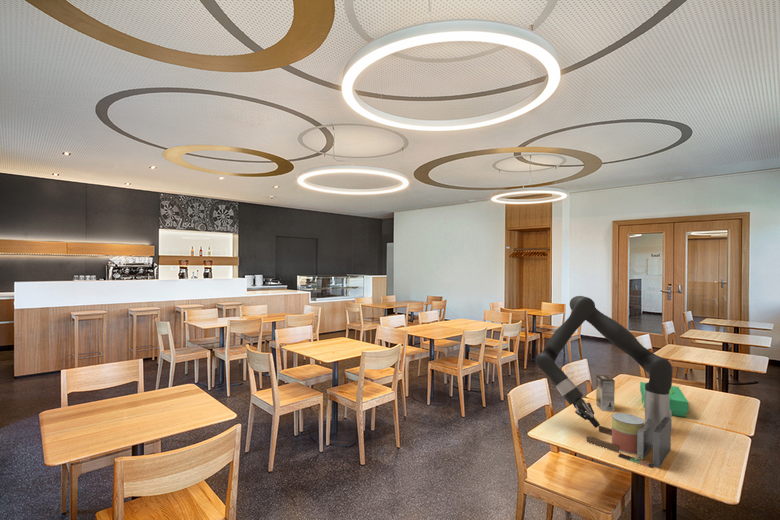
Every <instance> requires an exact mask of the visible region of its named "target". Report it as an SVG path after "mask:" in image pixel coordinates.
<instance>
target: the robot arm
mask: <svg viewBox="0 0 780 520" xmlns="http://www.w3.org/2000/svg"><path fill="white" fill-rule="evenodd" d="M569 307H570V310H571V313H570V314H569V316H568V318H567V319H566V320H565V321H564V322H563V323H561V325H560V326H559V327H558V328H557V329H555V331H554V332H553V334H552V335H551V337H550V338H549V340H547V342H546V346H545V347H544V348H543V351H542V352H539V353H537V354H536V357H535V363H536V365H537V366H538V367H539V368H540V370H541V371H542V372H543V373H544V374H545V375H546V376H547V377H548V378H549V380H550V381H551V382H552V383H553V385H554V386H555V388H556V389H557V390H558V392H559V393H560V394H561V396H562V397H563V399H564V400H565V401H566V402H567V403H568V405H573V408H574V409H575V411H574V413H575V414H576V415H577V416H579V417H580V418H581V419H584V420H585V421H586V420H587V421H589V423H590V424H591V425H592V426H593V427H594V429H595V428H599V425H600V426H601V424H600V422H599V421H598V419H596V417H595V411H594V410H593V406H592V405H591V403H590V402H586V400H585V399H583V396H584V394H583V393H582V391H580V389H579V388H578V387H577V385H575V383H574V382H573V381H572V380H571V379H570V378H569V376H567V374H566V373H565V372H564V370H562V369H561V368H560V367H559V366H558V365H557V364H556V361H557V358H558V356H559V354H560V353H561V352H562V351H563V349H564V348H565V346H566V344H568V342H569V341H570V340H571V337H573V335H574V333H575V332H576V331H577V330H578V329H579V328H580V327H581V326H582V324H583V323H584V322H585V321H586V322H587V323H589V324H590V325H591V326H592V327H593V328H595V330H597V332H598V333H600V334H601V335H602V336H603V337H604V338H605V339H606V340H608V342H610V343H611V344H612V345H614V346H615V347H617V348H618V349H619V350H621V351H622V352H623V353H625V354H627V355H629V356H630V358H632V359H633V360H634V361H635V362H636V363H637V364H638V365H639V366H640V367H641V368H642V369H643V370H644V371H645V372H647V373H648V374H649V377H648V378H649V379H648V380H649V381H648V382H645V383H646V384H645V407H644V424H645V423H646V421H647V420H648V419H653V420H655V429H656V427H657V426H658V425H659V424H660V422H661V421H662V420H663V419H664V418H665V417H667V418H671V422H672V420H673V419H672V416H673V415H672V411H671V410H669V392H670V389H671V386H673V366H672V364H671V362H670V361H669V360H668V359H666V358H664V357H661V356H659V355H657V354H655V353H654V352H652V351H650V350H649V349H648V348H646V347H644V345H642V344H641V342H640V341H639V340H638V339H637V337H636V336H635V335H634V334H633V333H632V332H631V331H630V330H628V329H627V328H626V327H625V326H623V325H622V324H620V323H619V322H618V321H616V320H615V319H613V318H611V317H609V316H608V315H607V314H604V313H603V312H601V311H600V310H599V309H598V308H597V307H596V303H595V301H594V300H593V299H592V298H590V297H588V296H583V295H577V296H574V297H572V298H571V299H570V300H569Z"/></svg>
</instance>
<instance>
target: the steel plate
mask: <svg viewBox="0 0 780 520" xmlns="http://www.w3.org/2000/svg"><path fill="white" fill-rule="evenodd" d="M654 430H655V420H653V419H648V420H647V421H646V423H645V422H644V425H643V426H642V427H641V428H640V429H639V430H638V431H637V454H636V456H634V457H635V459H636V460H637V459H641V460H644V459H645V458H646V457H647V456H648V454H649V453H650V451H651V449H653V431H654Z"/></svg>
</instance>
